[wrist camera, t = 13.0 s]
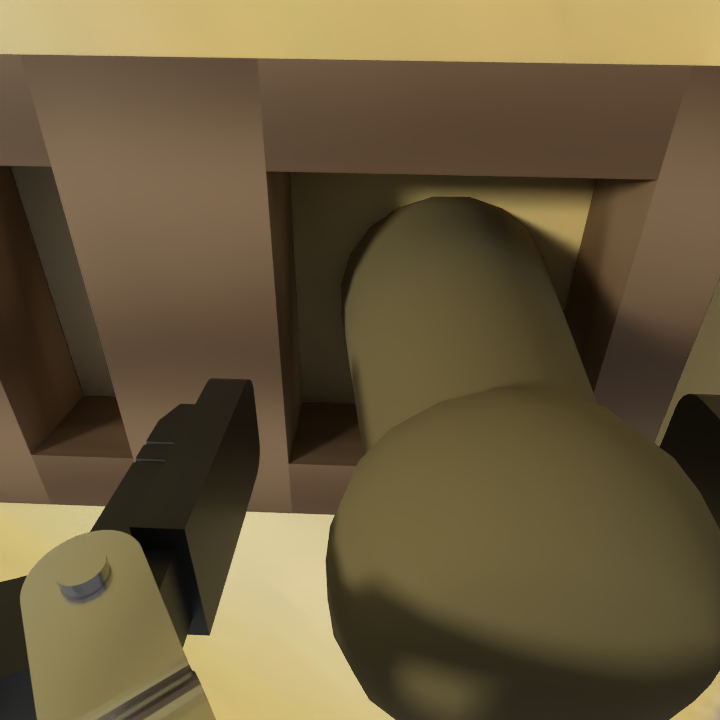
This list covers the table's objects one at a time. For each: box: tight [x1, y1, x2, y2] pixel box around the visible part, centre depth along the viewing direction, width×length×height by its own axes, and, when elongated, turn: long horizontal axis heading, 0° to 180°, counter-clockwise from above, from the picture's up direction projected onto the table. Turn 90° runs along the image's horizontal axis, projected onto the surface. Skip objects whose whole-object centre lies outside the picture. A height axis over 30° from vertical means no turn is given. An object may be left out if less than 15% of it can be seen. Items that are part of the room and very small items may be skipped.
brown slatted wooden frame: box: [0, 54, 720, 515], centre depth 14 cm, size 12×22×3 cm, turn 89°
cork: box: [326, 197, 720, 720], centre depth 10 cm, size 6×6×11 cm
